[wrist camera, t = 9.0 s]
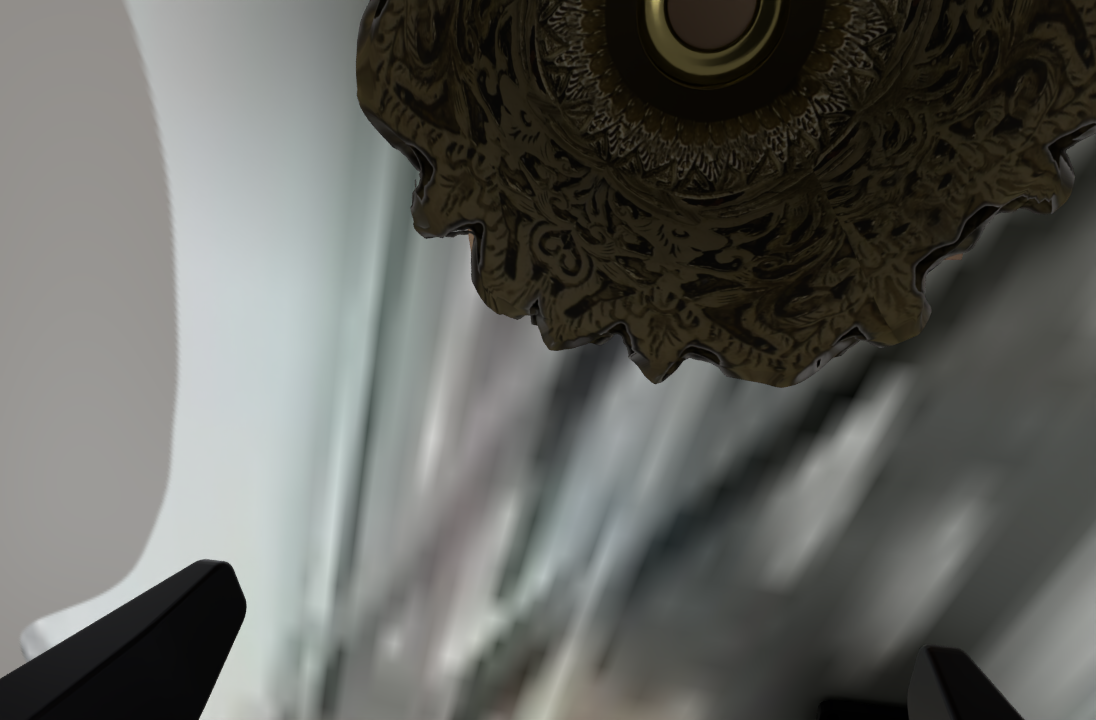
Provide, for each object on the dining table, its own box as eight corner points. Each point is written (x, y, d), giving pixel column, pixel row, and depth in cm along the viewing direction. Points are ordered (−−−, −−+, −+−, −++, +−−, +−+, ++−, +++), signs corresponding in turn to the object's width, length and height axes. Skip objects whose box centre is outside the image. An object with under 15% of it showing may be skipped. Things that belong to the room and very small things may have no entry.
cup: (717, 257, 16) (722, 492, 9) (455, 42, 15) (241, 136, 8) (1022, -46, 12) (1404, -17, 5) (701, -374, 11) (686, -865, 4)
